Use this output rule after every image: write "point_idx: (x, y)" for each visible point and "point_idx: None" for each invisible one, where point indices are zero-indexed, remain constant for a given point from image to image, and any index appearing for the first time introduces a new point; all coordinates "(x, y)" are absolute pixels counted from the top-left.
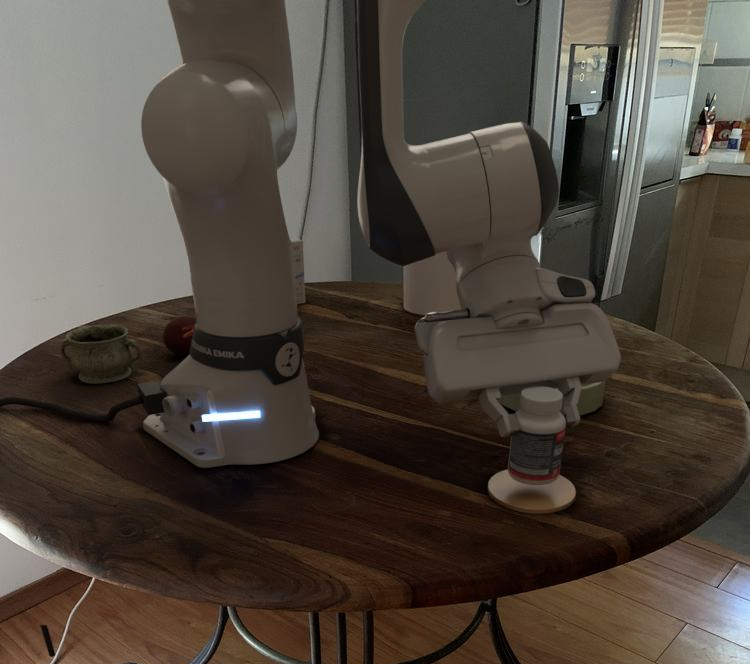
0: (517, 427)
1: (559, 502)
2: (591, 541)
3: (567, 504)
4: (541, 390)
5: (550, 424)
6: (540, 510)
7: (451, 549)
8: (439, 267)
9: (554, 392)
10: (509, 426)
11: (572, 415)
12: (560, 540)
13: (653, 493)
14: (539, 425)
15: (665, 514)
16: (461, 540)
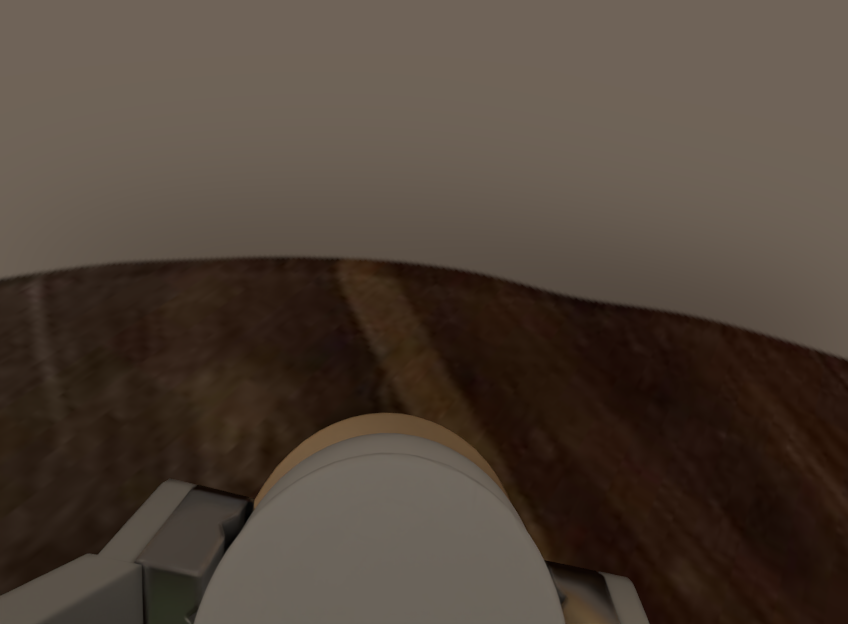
0: (562, 570)
1: (373, 431)
2: (416, 280)
3: (357, 416)
4: None
5: (420, 448)
6: (445, 428)
7: (724, 410)
8: None
9: (267, 607)
10: (615, 590)
11: (196, 506)
12: (475, 315)
13: (91, 357)
14: (476, 478)
15: (174, 273)
16: (689, 430)
